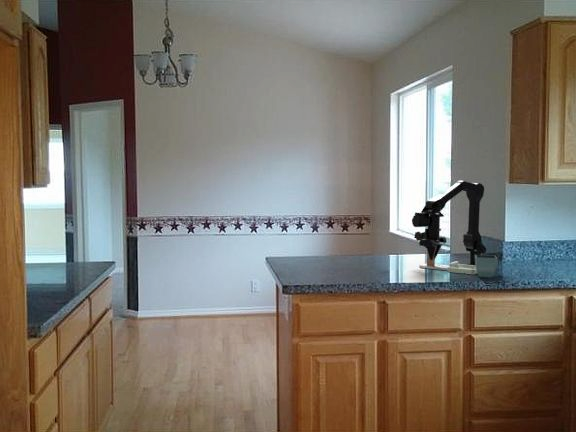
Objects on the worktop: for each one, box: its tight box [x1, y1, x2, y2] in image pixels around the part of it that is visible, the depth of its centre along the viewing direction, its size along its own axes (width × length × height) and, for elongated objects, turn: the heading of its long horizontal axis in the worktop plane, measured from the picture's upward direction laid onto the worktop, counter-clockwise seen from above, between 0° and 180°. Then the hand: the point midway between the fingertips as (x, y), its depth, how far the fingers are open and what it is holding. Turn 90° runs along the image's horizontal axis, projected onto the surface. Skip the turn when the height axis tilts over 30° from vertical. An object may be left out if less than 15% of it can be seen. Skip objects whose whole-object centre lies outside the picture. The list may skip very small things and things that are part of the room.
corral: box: [447, 263, 478, 275], centre depth 288 cm, size 13×12×2 cm
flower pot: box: [475, 254, 499, 279], centre depth 273 cm, size 9×9×9 cm
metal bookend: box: [418, 249, 460, 272], centre depth 295 cm, size 16×8×8 cm, turn 55°
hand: (432, 259), depth 297 cm, fingers closed on metal bookend, 3 cm apart
